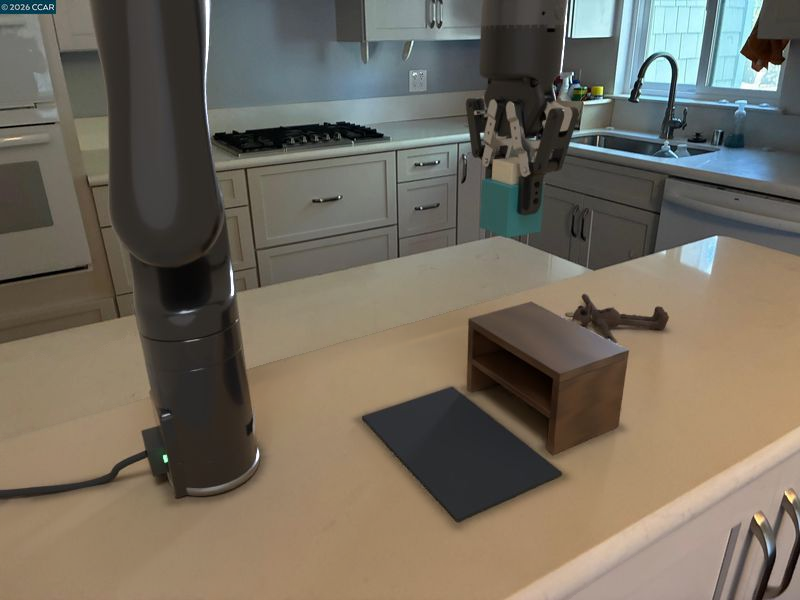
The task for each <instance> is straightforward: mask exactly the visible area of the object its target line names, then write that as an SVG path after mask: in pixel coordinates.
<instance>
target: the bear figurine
mask: <svg viewBox="0 0 800 600" xmlns="http://www.w3.org/2000/svg"><path fill="white" fill-rule="evenodd" d="M581 299H582V302H583V303H584V304H585V305H578V307H577V308H576V309H575V311H574V312H565V313H564V315H565V316H566V317H567V318H572V320H571V321H572V322H574V323H576V324H578V325H580V326H582V327H584V328H586V327H587V326H588V325H589V324H590V323H592V325H593V326H594V327H597V328H598V329H599V330H600V331H601V333H602V335H603V337H604V338H606V339H608V340H610V341H612V342H614V343H616V344H618V341H617V339H616V338H615V337H614V335H613V334H612V332H611V329H610V328H617V327H618V326H625V327H636V328H648V329H650V330H653V329H657V330H659V331H663V330H665V329H666V327H667V324H668V322H669V320H670V316H669V315H668V314H669V313H668V312H667V311H665V309H664V308H663V306H661V305H660V306H658V305H657V306H655V307H654V311H653V314H652V315H651V316H648V315H647V316H646V315H636V314H626V313H620V312H619V311H618V310H617V309H616V308H615V307H613V306H612V307H606V308H602V309H598V308H597V306H596V305H595V304H594V303H593V302H592V300H591V298H590V296H589V295H588V294H587V293H586V294H585V293H583V294H581Z"/></svg>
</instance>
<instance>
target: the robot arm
mask: <svg viewBox="0 0 800 600" xmlns="http://www.w3.org/2000/svg"><path fill="white" fill-rule="evenodd" d="M568 4H569V0H481V13H480V14H481V16H480V17H481V18H480V37H479V38H480V39H479V40H480V42H479V65H478V66H479V67H478V72H479V75H480V76H481V78H484V79H487V85H486V88H485V91H484V95H483V96H480V97H469V98H467V99H466V101H465V111H466V117H467V125H468V134H469V141H470V148H471V155H472V156H473V158H475V159H477V158H478V159H480V160H481V164H482V166H483V167H484V168H485V170H484V172H485V173H484V179H489V178H492V166H493V160H494V159H503V158H510V155H511V151H512V149H513V151H514V152H515V153H517V157H519V165H520V172H521V175H522V176H519V183H518V202H517V212H518V214H521V215H530V214H535V213H537V212H538V210H539V208H540V206H541V198H542V187H543V182H544V178H545V175H547V174H549V173H552V172H559V171H561V170H562V168H563V165H564V163H565V159H566V156H567V153H568V150H569V146H570V144H571V142H572V141H571V140H572V138H573V135H574V131H575V128H576V125H577V121H578V119H579V116H580V115H579V113H580V112H579V110H578V108H577V107H576V106H564V105H562V104H560V103H559V102H557V99H556V93H555V90H554V89H555V88H554V82H555V80H556V79H557V78H558V77H560V75H561V74H562V71H563V62H564V61H563V60H564V51H565V38H566V28H567V16H568V15H567V14H568V6H569V5H568ZM88 7H89V12H90V18H91V23H92V29H93V34H94V38H95V42H96V43H95V44H96V48H97V53H98V57H99V62H100V66H101V72H102V76H103V82H104V88H105V98H106V110H107V111H106V112H107V143H108V144H107V145H108V146H107V147H108V177H107V179H108V182H107V186H108V187H107V213H108V219H109V223H110V225H111V228H112V230H113V233H114V234H115V236H116V237H117V239H118V240H119V242H120V244H121V245H122V246H123V247H124V248H125V250H126V251H127V254H128V259H129V264H130V272H131V281H132V301H133V311H134V316H135V321H136V326H137V330H138V336H139V340H140V346H141V349H142V354H143V360H144V364H145V369H146V374H147V378H148V382H149V383H148V384H149V388H150V389H149V399H150V404H151V407H152V413H153V417H154V422H155V426H152V427H149V428H146V429H142V430H141V431H140V433H141V435H142V441H143V445H144V449H145V450H142V451H140V452H138V453H135V454H133V455H131V456H129V457H126V458H124V459H123V460H121V461H119V462H118V463H116V464H115V465H114V466H113V467H112V469H111V470H110V472H108V473H107V474H103V475H102V476H98V477H96V478H92V479H89V480H83V481H79V482H73V483H65V484H53V485H41V486H31V487H20V488H9V489H8V488H7V489H0V498H12V497H24V496H32V495H33V496H34V495H42V494H43V495H44V494H45V495H46V494H54V493H55V494H57V493H63V492H64V493H65V492H71V491H75V490H81V489H85V488H90V487H96V486H100V485H103V484H105V483H108V482H111V481H113V480H114V479H116V477H117V476H118V475H119V473H120V471H121V470H123V469H125V468H127V467H128V466H131V465H133V464H135V463H138V462H140V461H143V460H144V459H147V461H148V465H149V468H150V471H151V474H152V477H157V476H160V475H163V474H167V479H168V483H169V484H170V486H171V489H172V491H173V495H174V497H175V498H181V497H184V496H185V497H186V496H193V497H194V496H196V497H201V496H202V497H207V496H214V495H218V494H223V493H226V492H227V491H231V490H233V489H235V488H237V487H239V486H240V485H242V484H244V483H245V482H246V481H248V480H249V479H250V478H251V477H252V476H253V475H254V474H255V472H256V471H257V469H258V467H259V465H260V451H259V447H258V441H257V436H256V420H257V419H256V418H257V415H256V407H255V406H254V407H252V400H251V394H250V386H249V378H248V370H247V365H246V363H247V362H246V357H245V350H244V342H243V341H244V340H243V336H242V335H243V334H242V327H241V320H240V310H239V304H238V303H239V302H238V295H237V286H236V279H235V273H234V266H233V260H232V252H231V245H230V244H231V243H230V237H229V229H228V222H227V213H226V205H225V199H224V193H223V188H222V184H221V182H220V179H219V177H218V174H217V170H216V163H215V157H214V151H213V143H212V138H211V137H212V136H211V129H210V121H209V112H208V91H207V90H208V89H207V88H208V87H207V86H208V71H209V70H208V69H209V59H210V58H209V57H210V56H209V55H210V45H211V31H212V14H213V13H212V10H213V8H212V7H213V0H88ZM481 134H483V136H482V138H481ZM531 139H535V140H531ZM482 142H484V143H485V144H482ZM498 147H499V148H498ZM531 151H532V152H533V156H534V160H532V155H531ZM531 160H532V161H534V162H532V161H531Z"/></svg>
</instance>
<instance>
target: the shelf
mask: <svg viewBox="0 0 800 600" xmlns="http://www.w3.org/2000/svg"><path fill="white" fill-rule="evenodd" d="M467 319H468V320H467V324H468V325H467V329H468V330H467V360H466V361H467V362H466V363H467V364H466V390H467V391H469V392H470V393H473V392H476V391H479V390H482V389H486V388H488V387H490V386H491V387H492V386H495V385H498V384H500V385H501V386H503V387H504V389H505V388H506V389H507V390H508V391H510V392H511V393H512V394H514V395H515V396H516V397H518V398H520V400H523V401H524V402H525V403H526V404H527V405H530V406H531V407H532V408H533V409H536V410H537V411H538V412H540V413H541V414H542V415H544V416H545V417H547V418H548V419H549V421H548V431H547V433H548V434H547V445H546V451H547V452H548V453H550V455H553V456H554V455H556V454H558V453H561V452H563V451H566V450H567V449H570V448H572V447H575V446H577V445H580V444H582V443H584V442H587V441H589V440H591V439H593V438H596V437H599V436H601V435H603V434H605V433H608V432H610V431H612V430H615V429H617V428H619V426H620V419H621V410H622V404H623V398H624V397H623V396H624V389H625V382H626V375H627V368H628V360H629V353H630V349H628V348H626V347H624V346H622V345H621V344H618V343H617V344H616V343H614V342H612V341H610V340H608V339H606V338H605V336H602V335H600V334H598V333H596V332H593V331H592V330H589V329H587V328H586V327H585V328H584V327H582V326H580V325H578V324H576V323H574V322H572V320H570V319H567V318H565V317H564V316H562V315H559V314H557V313H556V312H553V311H552V310H549V309H548V308H545V307H543V306H542V305H539V304H537V303H536V302H533V301H528V302H524V303H521V304H516V305H513V306H509V307H505V308H502V309H498V310H495V311H491V312H488V313H483V314H481V315H477V316H473V317H469V318H467Z"/></svg>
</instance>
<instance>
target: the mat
mask: <svg viewBox="0 0 800 600" xmlns="http://www.w3.org/2000/svg"><path fill="white" fill-rule="evenodd" d="M361 419H362V420H363V422H364V423H365V424H366V425H367V426H368V427H369V428H370V429H371V430H372V432H374V434H375V435H376V436H377V437H378V438H379V439H380V440H381V441H382V442H383V443H384V445H385V446H387V448H389V450H390V451H391V452H392V453H393V454H394V455H395V457H396V458H398V460H399V461H400V462H401V463H402V464H403V465H404V466H405V467H406V468H407V470H408V471H410V473H411V474H412V475H413V477H415V478H416V480H418V481H419V483H420V484H421V485H423V487H424V488H425V489H426V490H427V491H428V492H429V494H430V495H432V497H433V498H434V499H435V500H436V501H437V502H438V503H439V504H440V505H441V506H442V508H443V509H444V510H445V511H446V512H447V514H449V515H450V516H451V517H452V519H454V520H455V522H456V523H460V522H463V521H465V520H466V519H468V518H470V517H473V516H475V515H477V514H480V513H482V512H485V511H486V510H488V509H491V508H493V507H495V506H497V505H500V504H502V503H504V502H506V501H509V500H510V499H513V498H515V497H517V496H520V495H522V494H524V493H526V492H528V491H532V490H533V489H536V488H537V487H541V486H542V485H544V484H546V483H548V482H550V481H551V482H552V481H553V480H555V479H557V478H560V477H562V476H563V472H562V471H561V470H560V469H558V468H557V467H556V466H555V465H554V464H552V463H551V462H550V461H548V460H547V459H545V458H544V457H543V456H542V455H541V454H539V452H537V451H536V450H534V449H533V448H532V447H530V446H529V445H528V444H526V442H524V441H523V440H521V439H520V438H519V437H518V436H516V435H515V434H514V433H513V432H511V431H510V430H509V429H508V428H506V427H505V426H503V425H502V424H501V423H500V422H498V421H497V420H496V419H494V417H492V416H491V415H490V414H488V412H486V411H484V409H482V408H481V407H480V406H478V405H477V404H475V403H474V402H473V401H472V400H471V399H470V398H468V397H467V396H466V395H464V394H463V393H462V392H460V390H458V389H456V387H454V386H453V385H452V386H449V387H445V388H443V389H440V390H436V391H434V392H431V393H428V394H424V395H422V396H419V397H416V398H413V399H409V400H407V401H404V402H401V403H397V404H395V405H392V406H388V407H386V408H382V409H380V410H376V411H373V412H370V413H367V414H365V415H362V416H361Z"/></svg>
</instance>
